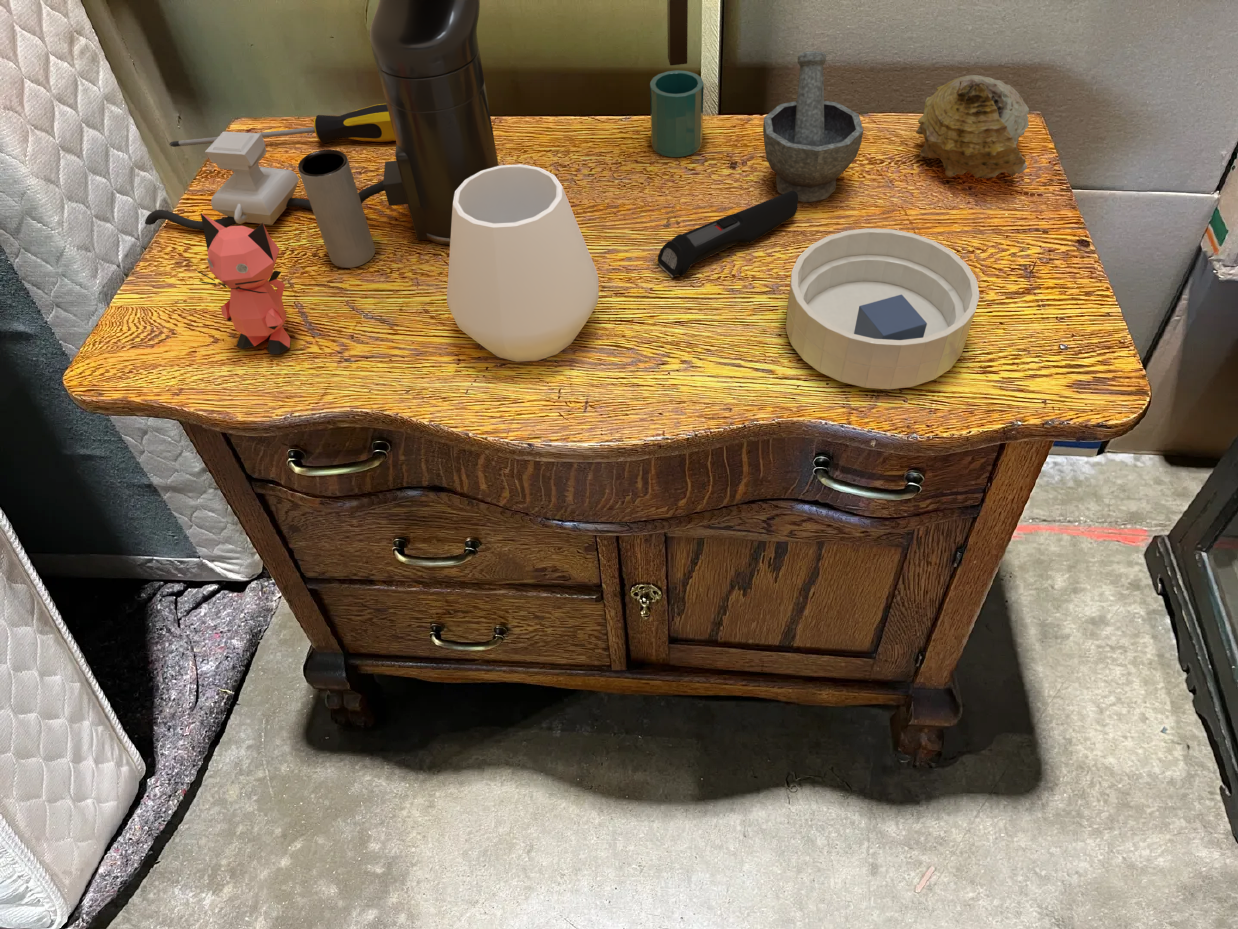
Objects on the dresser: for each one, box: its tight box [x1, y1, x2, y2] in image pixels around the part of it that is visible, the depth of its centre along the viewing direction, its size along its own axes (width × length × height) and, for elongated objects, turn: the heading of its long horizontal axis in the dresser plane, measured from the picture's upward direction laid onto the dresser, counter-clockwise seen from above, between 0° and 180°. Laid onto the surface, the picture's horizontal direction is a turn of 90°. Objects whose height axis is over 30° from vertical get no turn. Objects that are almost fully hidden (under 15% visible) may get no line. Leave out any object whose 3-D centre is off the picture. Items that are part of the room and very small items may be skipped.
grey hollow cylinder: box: [297, 149, 376, 269], centre depth 87 cm, size 4×4×10 cm
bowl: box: [785, 227, 980, 390], centre depth 77 cm, size 15×15×6 cm
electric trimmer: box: [657, 191, 799, 278], centre depth 88 cm, size 4×16×3 cm, turn 122°
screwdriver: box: [169, 103, 396, 148], centre depth 104 cm, size 3×3×30 cm
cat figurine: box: [194, 212, 291, 355], centre depth 79 cm, size 7×7×12 cm
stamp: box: [204, 131, 300, 226], centre depth 93 cm, size 9×7×8 cm
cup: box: [446, 163, 600, 363], centre depth 77 cm, size 13×13×14 cm
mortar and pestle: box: [762, 50, 864, 203], centre depth 90 cm, size 11×9×12 cm
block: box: [854, 294, 927, 340], centre depth 76 cm, size 4×4×4 cm
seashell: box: [915, 74, 1030, 179], centre depth 94 cm, size 11×14×10 cm
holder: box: [649, 69, 705, 158], centre depth 98 cm, size 6×6×7 cm
